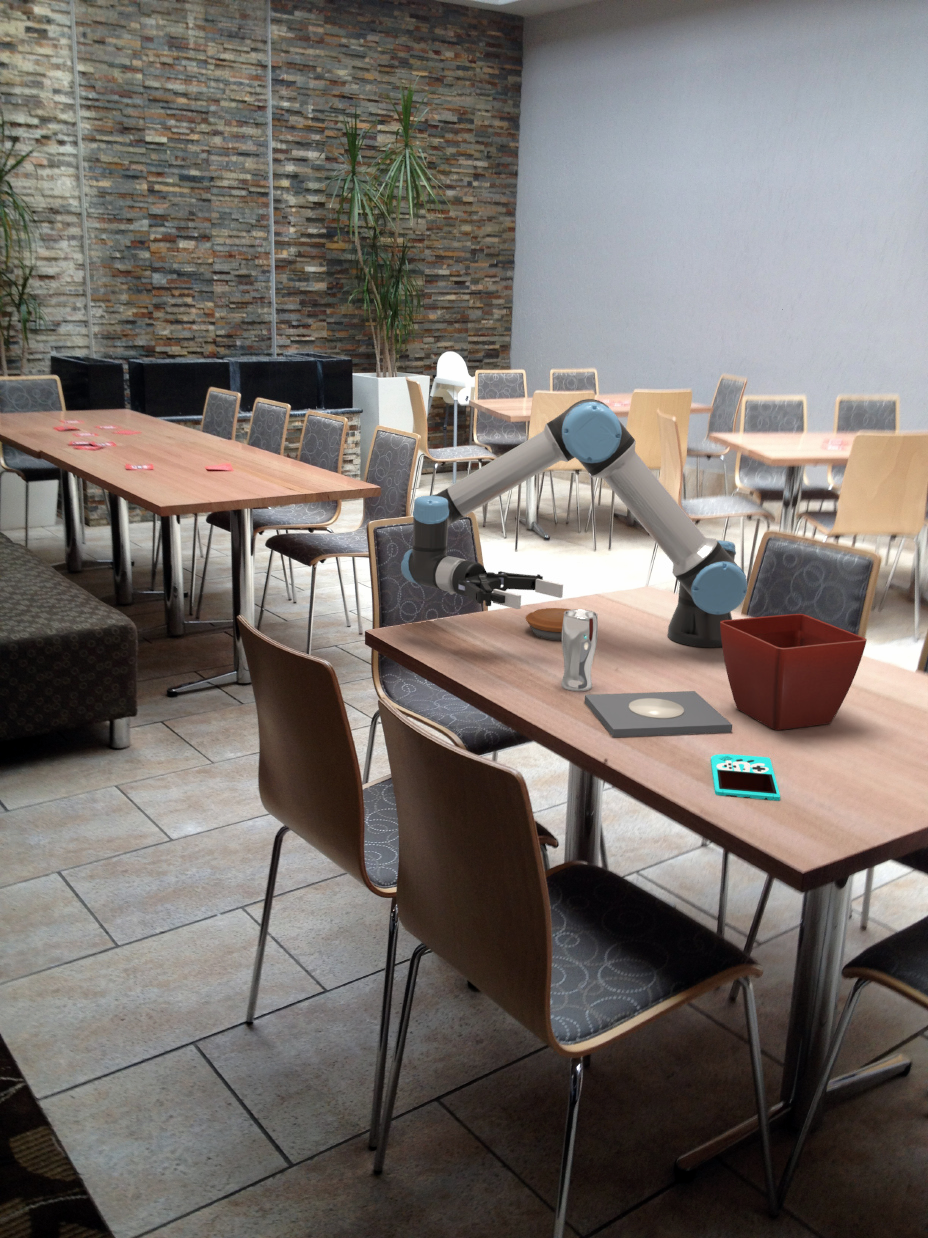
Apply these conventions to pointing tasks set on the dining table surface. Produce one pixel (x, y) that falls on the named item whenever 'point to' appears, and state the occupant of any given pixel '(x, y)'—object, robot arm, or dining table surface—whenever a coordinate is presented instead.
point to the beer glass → (578, 648)
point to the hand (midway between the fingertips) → (541, 596)
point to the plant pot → (789, 668)
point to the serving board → (656, 714)
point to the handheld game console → (744, 776)
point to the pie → (547, 622)
